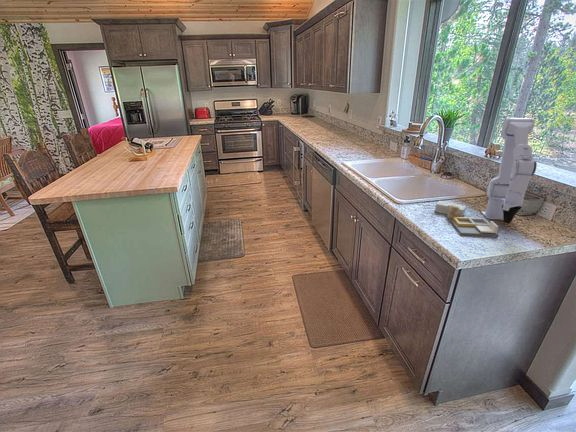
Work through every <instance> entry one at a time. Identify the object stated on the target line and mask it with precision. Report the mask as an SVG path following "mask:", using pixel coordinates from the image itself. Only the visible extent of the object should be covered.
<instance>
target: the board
mask: <svg viewBox="0 0 576 432" xmlns="http://www.w3.org/2000/svg"><path fill="white" fill-rule="evenodd" d="M449 223H450V224H451V225H452V227H453V228H454V229H455V230H456V232H457V233H459V235H460V236H464V237H465V236H467V237H468V236H470V237H489V238H498V236H499V234H498V232H497V233H485V232H480V231H479V230H478V229H477V228H476V226H489V224H490V221H488V220H487V219H486V217H484V218H483V217H464V216H463V217H453V219H450V220H449Z"/></svg>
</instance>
